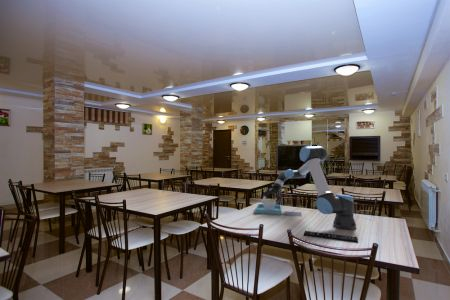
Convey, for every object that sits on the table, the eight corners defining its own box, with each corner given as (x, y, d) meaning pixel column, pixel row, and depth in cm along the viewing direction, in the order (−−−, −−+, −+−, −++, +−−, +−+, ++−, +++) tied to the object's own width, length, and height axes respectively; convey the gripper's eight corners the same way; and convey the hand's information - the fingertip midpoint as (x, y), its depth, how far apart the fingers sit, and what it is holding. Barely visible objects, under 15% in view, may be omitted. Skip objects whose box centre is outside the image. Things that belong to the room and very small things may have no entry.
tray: (281, 215, 216) (281, 210, 216) (255, 213, 221) (255, 209, 221) (281, 209, 237) (281, 205, 237) (258, 208, 242) (258, 203, 242)
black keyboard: (304, 232, 173) (304, 230, 173) (356, 239, 161) (356, 236, 160) (303, 236, 166) (303, 233, 166) (357, 243, 154) (357, 240, 153)
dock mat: (301, 217, 210) (301, 216, 210) (284, 216, 213) (284, 215, 213) (301, 213, 223) (301, 212, 223) (284, 212, 227) (284, 211, 227)
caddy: (268, 209, 234) (268, 198, 234) (274, 210, 229) (274, 199, 229) (263, 210, 229) (263, 199, 229) (269, 211, 224) (269, 200, 224)
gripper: (290, 189, 230) (281, 208, 220) (269, 186, 249) (259, 203, 239) (287, 184, 227) (277, 203, 217) (265, 181, 245) (255, 199, 236)
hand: (267, 203), depth 228 cm, fingers open, 13 cm apart
